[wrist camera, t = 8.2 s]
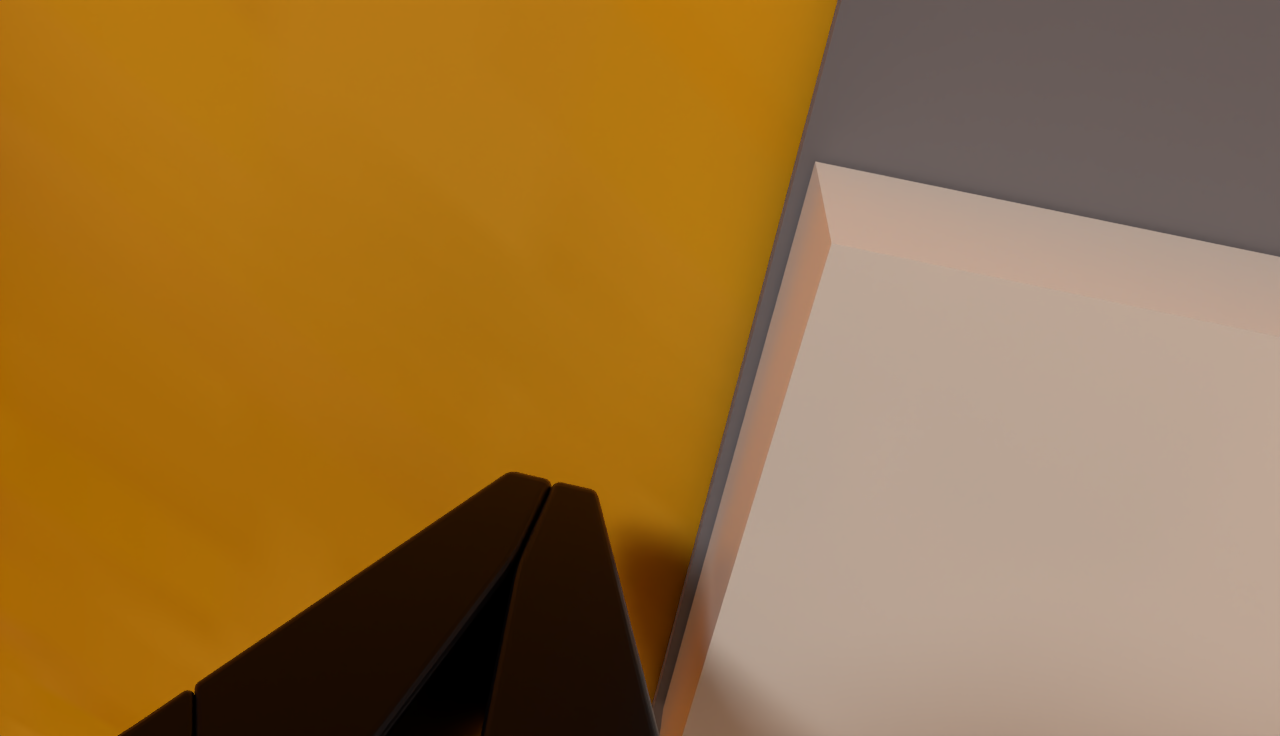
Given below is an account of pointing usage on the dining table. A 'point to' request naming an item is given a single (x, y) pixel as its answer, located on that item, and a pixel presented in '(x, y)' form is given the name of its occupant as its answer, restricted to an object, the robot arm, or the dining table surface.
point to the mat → (1038, 133)
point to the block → (996, 483)
